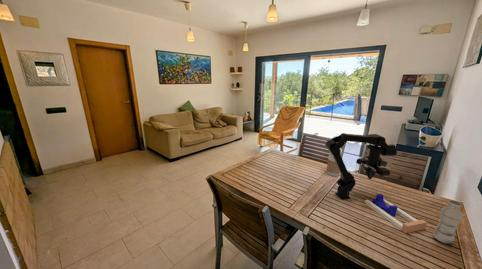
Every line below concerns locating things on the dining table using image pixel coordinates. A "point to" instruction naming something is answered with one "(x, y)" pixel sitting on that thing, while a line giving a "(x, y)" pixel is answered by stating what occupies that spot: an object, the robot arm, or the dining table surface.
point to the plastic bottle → (448, 222)
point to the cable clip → (380, 203)
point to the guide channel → (405, 227)
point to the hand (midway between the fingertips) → (369, 179)
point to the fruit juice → (333, 165)
